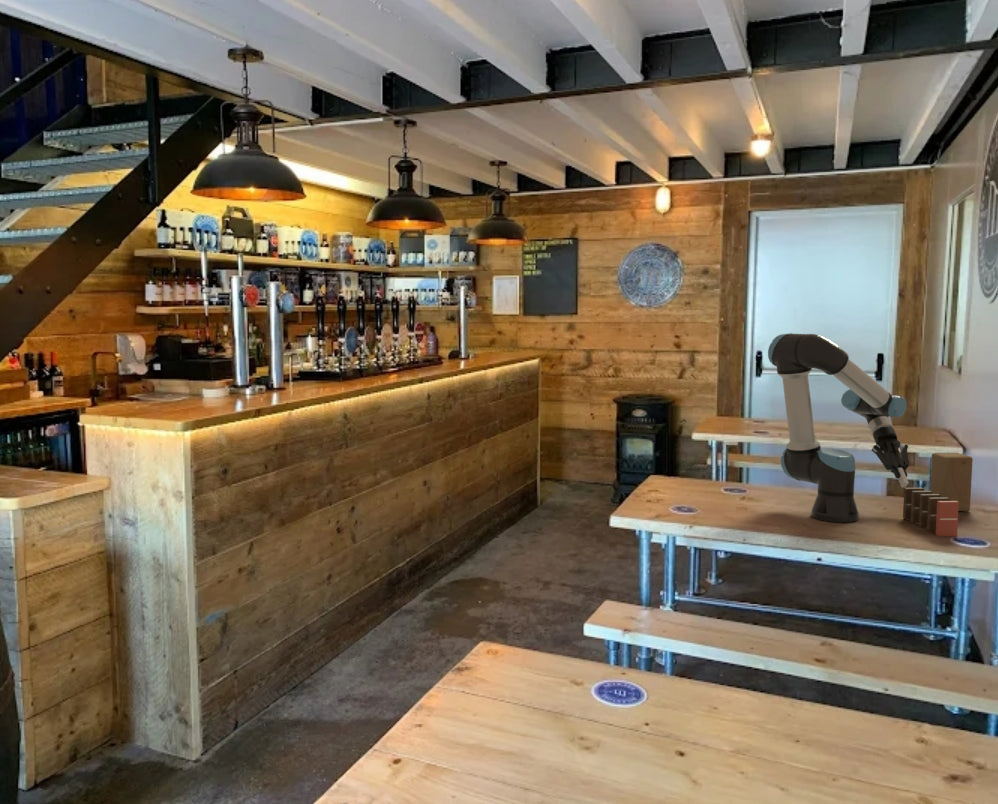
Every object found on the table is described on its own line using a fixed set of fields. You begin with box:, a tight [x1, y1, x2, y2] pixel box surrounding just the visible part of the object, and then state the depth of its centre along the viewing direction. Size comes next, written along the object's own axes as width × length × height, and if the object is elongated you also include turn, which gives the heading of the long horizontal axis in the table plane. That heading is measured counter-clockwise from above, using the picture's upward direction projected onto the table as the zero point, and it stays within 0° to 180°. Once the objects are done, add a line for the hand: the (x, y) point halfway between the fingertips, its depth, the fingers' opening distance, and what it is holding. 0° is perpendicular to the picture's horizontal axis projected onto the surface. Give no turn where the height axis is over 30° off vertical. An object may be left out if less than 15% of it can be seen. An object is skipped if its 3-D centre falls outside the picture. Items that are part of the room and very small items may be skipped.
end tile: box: [935, 501, 959, 537], centre depth 250 cm, size 2×6×11 cm, turn 91°
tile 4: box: [926, 497, 950, 533], centre depth 255 cm, size 2×6×11 cm, turn 91°
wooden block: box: [929, 452, 974, 512], centre depth 284 cm, size 10×10×20 cm
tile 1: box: [902, 487, 925, 521], centre depth 270 cm, size 2×6×11 cm, turn 91°
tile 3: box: [918, 494, 941, 529], centre depth 260 cm, size 2×6×11 cm, turn 91°
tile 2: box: [910, 490, 932, 524], centre depth 265 cm, size 2×6×11 cm, turn 91°
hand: (905, 485), depth 277 cm, fingers closed
